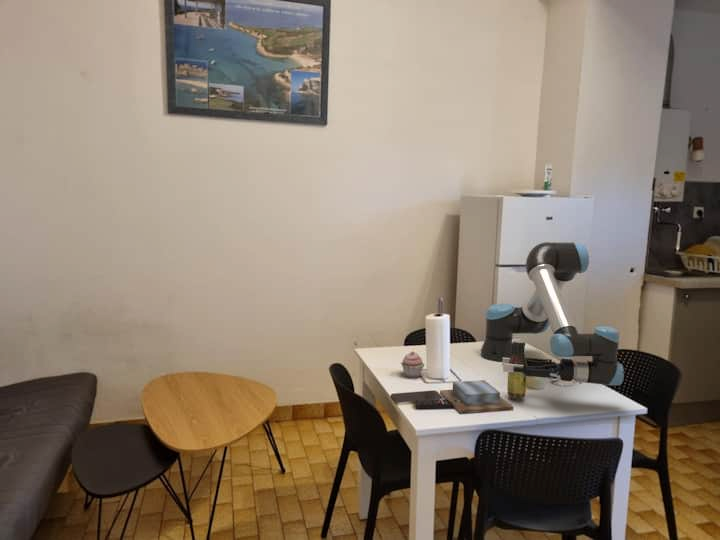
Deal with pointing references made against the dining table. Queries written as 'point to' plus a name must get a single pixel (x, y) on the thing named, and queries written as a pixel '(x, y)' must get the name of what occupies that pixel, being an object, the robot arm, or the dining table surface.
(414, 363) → the cupcake
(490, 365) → the dining table surface
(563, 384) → the wineglass
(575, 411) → the dining table surface
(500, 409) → the base
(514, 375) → the sauce bottle
